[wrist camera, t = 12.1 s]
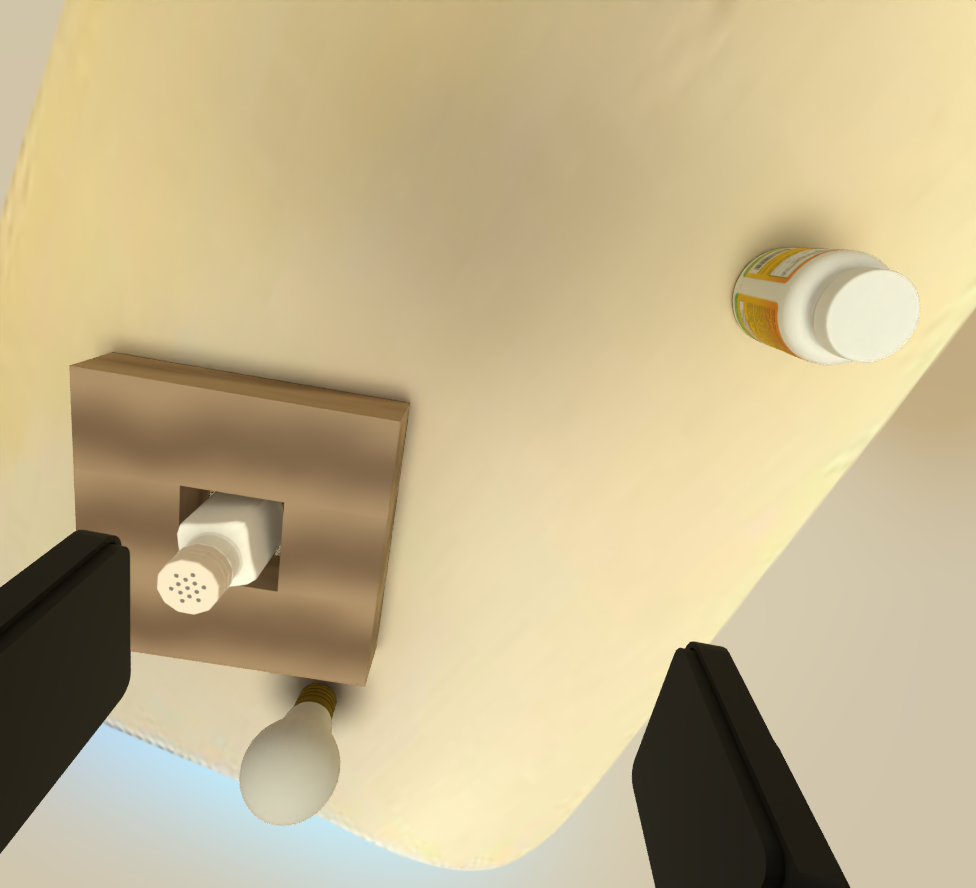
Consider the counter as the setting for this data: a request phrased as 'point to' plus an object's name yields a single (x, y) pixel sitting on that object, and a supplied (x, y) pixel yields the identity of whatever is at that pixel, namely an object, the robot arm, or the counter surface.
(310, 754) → the light bulb
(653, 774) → the robot arm
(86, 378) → the socket block
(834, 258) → the supplement bottle
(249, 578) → the pepper shaker
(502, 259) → the counter surface
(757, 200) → the counter surface
